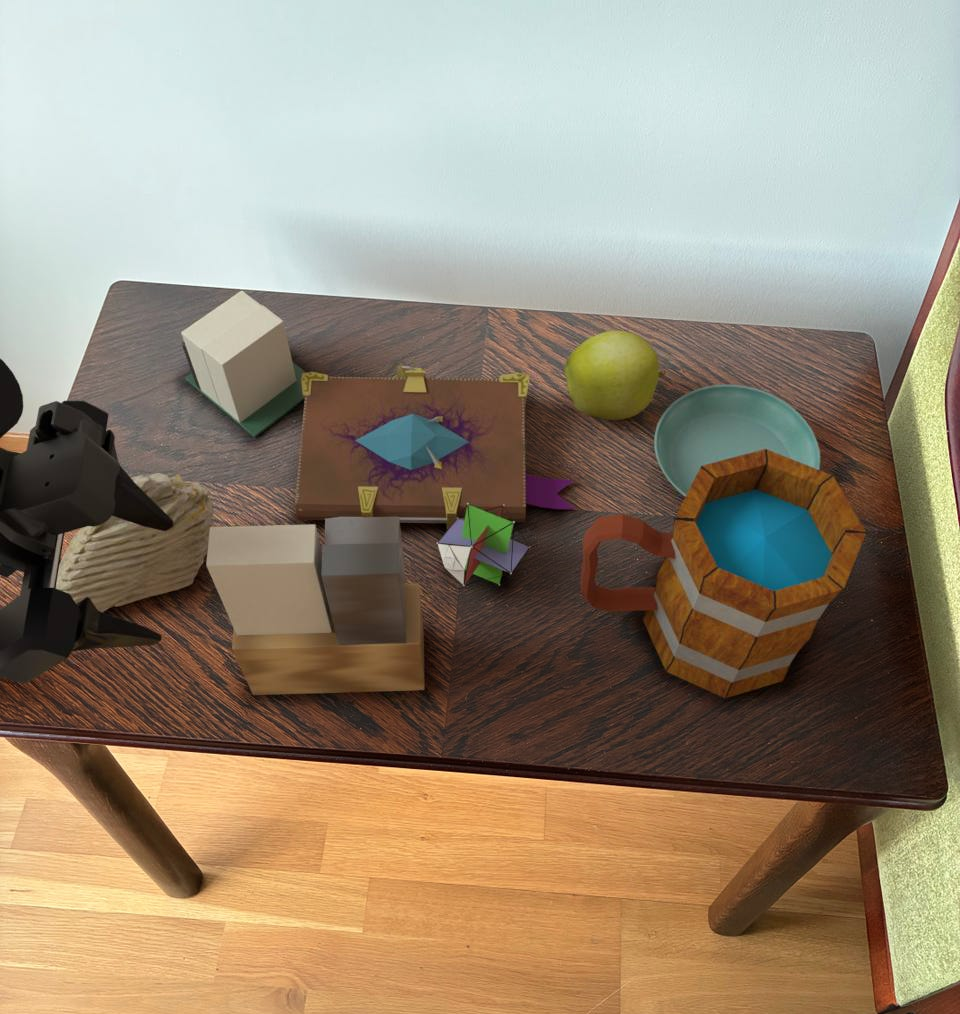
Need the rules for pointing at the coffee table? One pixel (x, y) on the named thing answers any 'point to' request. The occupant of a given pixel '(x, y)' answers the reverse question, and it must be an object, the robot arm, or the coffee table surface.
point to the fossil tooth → (140, 548)
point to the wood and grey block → (349, 622)
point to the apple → (612, 375)
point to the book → (416, 448)
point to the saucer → (728, 431)
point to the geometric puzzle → (480, 546)
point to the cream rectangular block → (270, 578)
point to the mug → (737, 570)
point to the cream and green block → (244, 363)
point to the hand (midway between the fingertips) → (164, 581)
